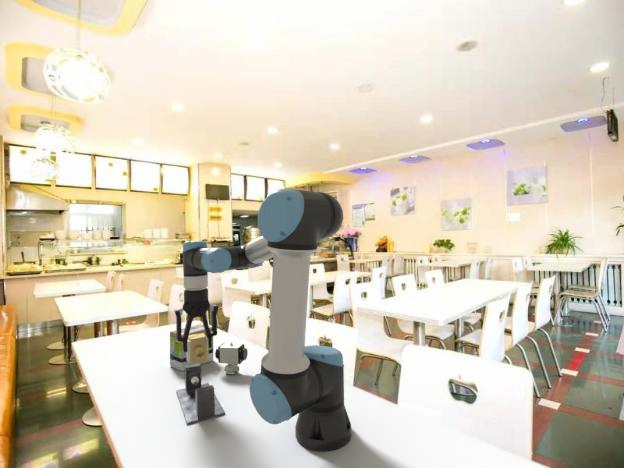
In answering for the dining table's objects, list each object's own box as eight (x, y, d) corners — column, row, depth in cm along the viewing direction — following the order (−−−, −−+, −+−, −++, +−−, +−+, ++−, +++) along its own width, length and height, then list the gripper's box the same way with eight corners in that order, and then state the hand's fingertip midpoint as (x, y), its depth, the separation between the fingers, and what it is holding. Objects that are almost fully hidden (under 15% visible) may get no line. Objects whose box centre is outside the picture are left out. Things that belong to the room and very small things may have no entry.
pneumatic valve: (243, 376, 132) (242, 345, 132) (215, 374, 134) (214, 344, 134) (249, 370, 137) (248, 340, 137) (221, 369, 140) (221, 339, 140)
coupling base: (225, 414, 104) (224, 386, 104) (187, 424, 99) (186, 395, 99) (208, 384, 125) (207, 361, 125) (176, 391, 120) (175, 367, 120)
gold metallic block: (208, 362, 110) (207, 337, 110) (191, 366, 108) (191, 340, 108) (203, 355, 117) (202, 331, 117) (187, 358, 115) (187, 334, 115)
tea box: (183, 372, 138) (182, 335, 138) (169, 366, 144) (168, 331, 144) (214, 360, 150) (213, 326, 150) (200, 355, 156) (199, 323, 156)
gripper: (221, 284, 120) (222, 351, 120) (164, 289, 111) (166, 361, 111) (226, 287, 113) (228, 357, 113) (167, 292, 105) (169, 369, 105)
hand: (197, 359), depth 112 cm, fingers closed on gold metallic block, 5 cm apart
